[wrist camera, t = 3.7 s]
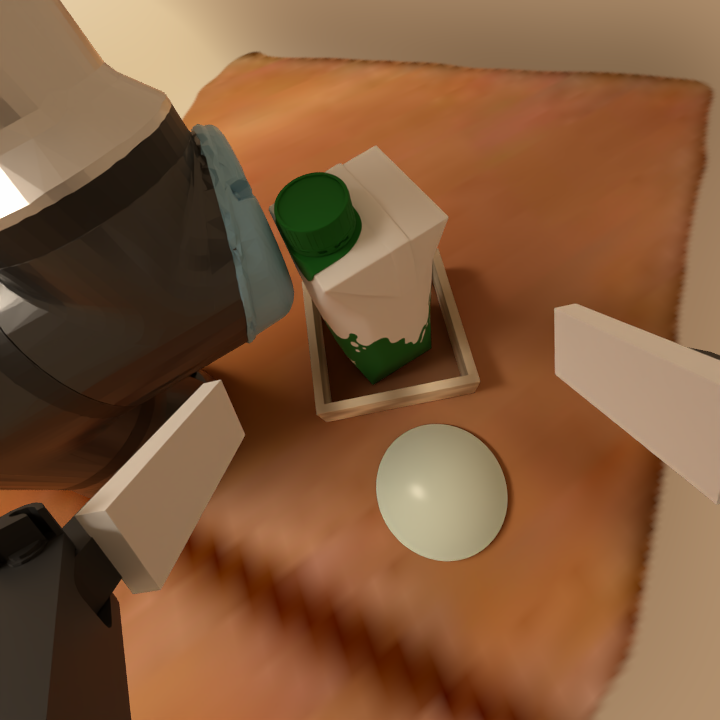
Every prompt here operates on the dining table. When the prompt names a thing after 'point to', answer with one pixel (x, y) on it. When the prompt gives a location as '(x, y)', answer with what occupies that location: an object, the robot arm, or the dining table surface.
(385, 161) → the soya milk
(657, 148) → the dining table surface
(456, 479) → the pale green disc
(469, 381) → the dock
